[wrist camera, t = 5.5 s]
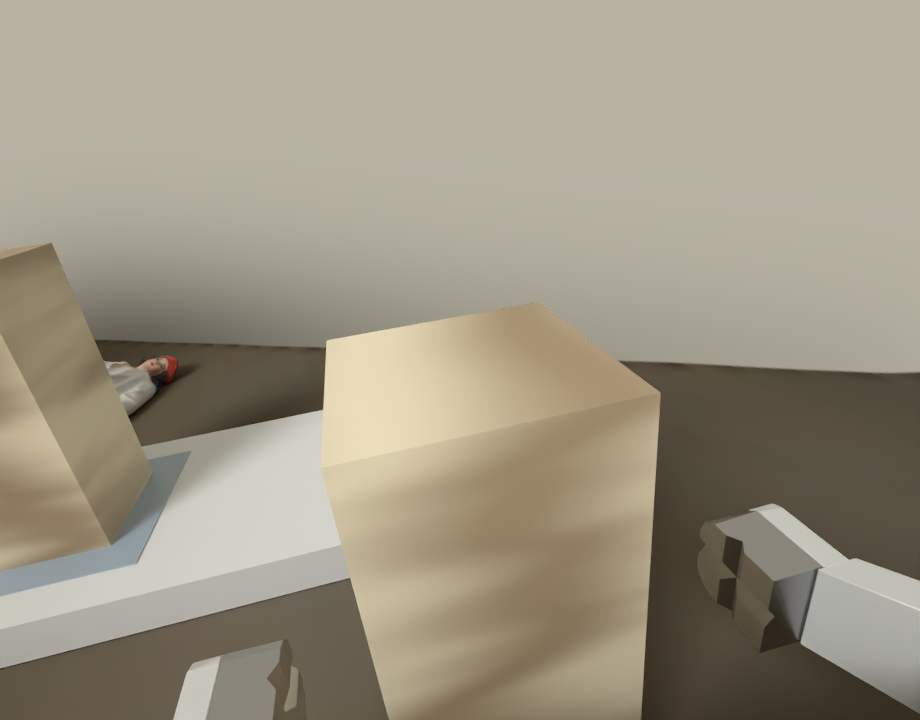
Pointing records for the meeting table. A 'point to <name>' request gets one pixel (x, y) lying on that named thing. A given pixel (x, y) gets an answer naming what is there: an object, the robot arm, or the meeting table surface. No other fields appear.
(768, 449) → the meeting table surface
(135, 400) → the figurine
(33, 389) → the standing pillar
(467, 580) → the loose pillar
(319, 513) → the white base board
